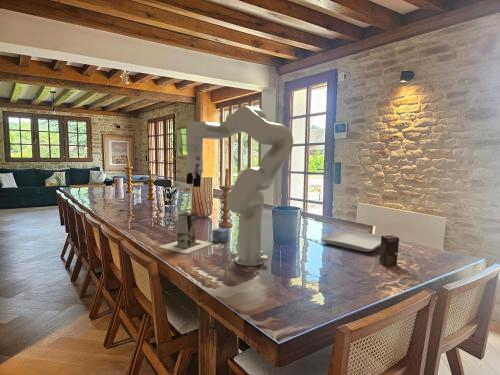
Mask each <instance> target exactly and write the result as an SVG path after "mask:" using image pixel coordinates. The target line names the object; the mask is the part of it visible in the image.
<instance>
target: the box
mask: <svg viewBox="0 0 500 375" xmlns="http://www.w3.org/2000/svg"><path fill="white" fill-rule="evenodd" d="M399 243H400V237H398V236H396V235H381V246H380V247H379V248H380V249H379V261H378V262H379V264H380V265H382V266H397V264H398V257H399V254H398V253H399V247H400V246H399V245H400V244H399Z"/></svg>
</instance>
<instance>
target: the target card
mask: <svg viewBox="0 0 500 375" xmlns="http://www.w3.org/2000/svg"><path fill="white" fill-rule="evenodd" d="M196 244H197V245H196ZM196 244H195V245H193V246H192V247H190V248H178V247H176V246H177V240H176V241H173V242H170V243H166V244H163V245H161V246H158V248H159V249H164V250H168V251H172V252H177V253H181V254H184V255H185V254H186V255H189V254H191V253H192V252H193V253H194V252H196V251H198V250H202V249H203V248H207V247H209V246H212V245H214V244H215V243H214V242H211V241H210V242H209V241H204V240H199V239H196Z"/></svg>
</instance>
